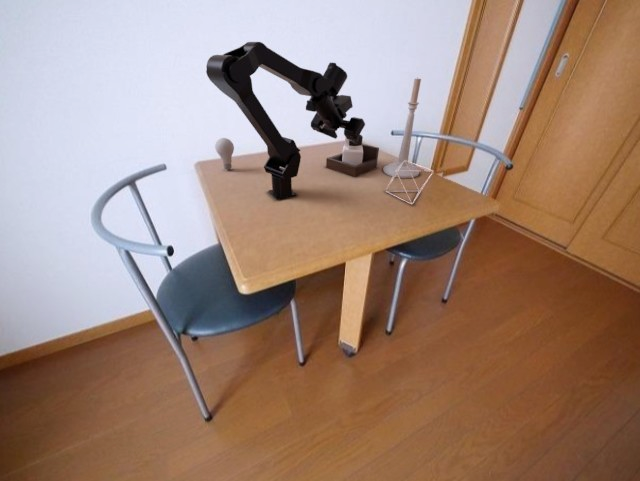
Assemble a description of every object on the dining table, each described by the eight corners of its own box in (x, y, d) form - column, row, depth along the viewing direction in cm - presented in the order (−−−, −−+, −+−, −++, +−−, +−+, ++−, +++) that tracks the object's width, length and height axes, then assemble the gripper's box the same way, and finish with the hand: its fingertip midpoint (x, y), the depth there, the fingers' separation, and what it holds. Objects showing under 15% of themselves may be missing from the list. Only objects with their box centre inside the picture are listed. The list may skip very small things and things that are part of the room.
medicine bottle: (360, 165, 109) (364, 132, 103) (361, 171, 103) (364, 137, 97) (342, 164, 110) (344, 131, 103) (341, 170, 104) (343, 136, 97)
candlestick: (426, 175, 102) (449, 78, 85) (397, 180, 97) (416, 79, 80) (403, 164, 111) (419, 75, 95) (376, 168, 107) (388, 75, 90)
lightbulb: (238, 171, 101) (233, 139, 94) (220, 173, 99) (214, 141, 93) (235, 166, 105) (231, 135, 99) (218, 168, 103) (212, 136, 97)
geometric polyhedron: (380, 198, 85) (384, 168, 80) (390, 185, 93) (394, 157, 88) (422, 207, 80) (430, 177, 75) (429, 193, 89) (436, 164, 83)
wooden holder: (354, 177, 99) (356, 155, 95) (326, 167, 106) (326, 147, 102) (376, 167, 107) (379, 147, 103) (348, 159, 114) (349, 140, 110)
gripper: (364, 88, 80) (381, 124, 93) (316, 83, 91) (337, 116, 104) (345, 122, 80) (364, 153, 93) (299, 113, 90) (322, 142, 103)
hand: (346, 140), depth 98 cm, fingers open, 9 cm apart
